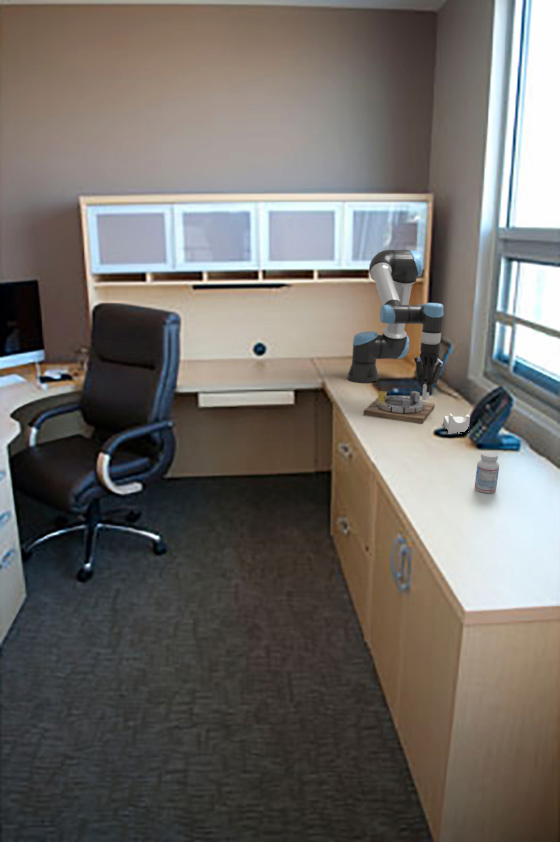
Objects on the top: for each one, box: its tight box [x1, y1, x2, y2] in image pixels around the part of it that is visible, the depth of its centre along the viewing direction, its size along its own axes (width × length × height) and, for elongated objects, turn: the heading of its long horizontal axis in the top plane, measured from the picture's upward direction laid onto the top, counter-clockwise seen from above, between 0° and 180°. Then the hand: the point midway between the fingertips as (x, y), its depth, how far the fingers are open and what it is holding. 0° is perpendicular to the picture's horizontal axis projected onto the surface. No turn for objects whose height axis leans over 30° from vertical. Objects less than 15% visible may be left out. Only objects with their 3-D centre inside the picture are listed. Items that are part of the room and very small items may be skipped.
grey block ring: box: [377, 390, 425, 413], centre depth 260 cm, size 19×19×5 cm
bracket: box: [442, 413, 471, 434], centre depth 239 cm, size 13×7×8 cm, turn 174°
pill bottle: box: [474, 450, 500, 494], centre depth 184 cm, size 6×6×11 cm
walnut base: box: [363, 397, 436, 424], centre depth 261 cm, size 24×24×4 cm
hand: (425, 399), depth 260 cm, fingers closed
